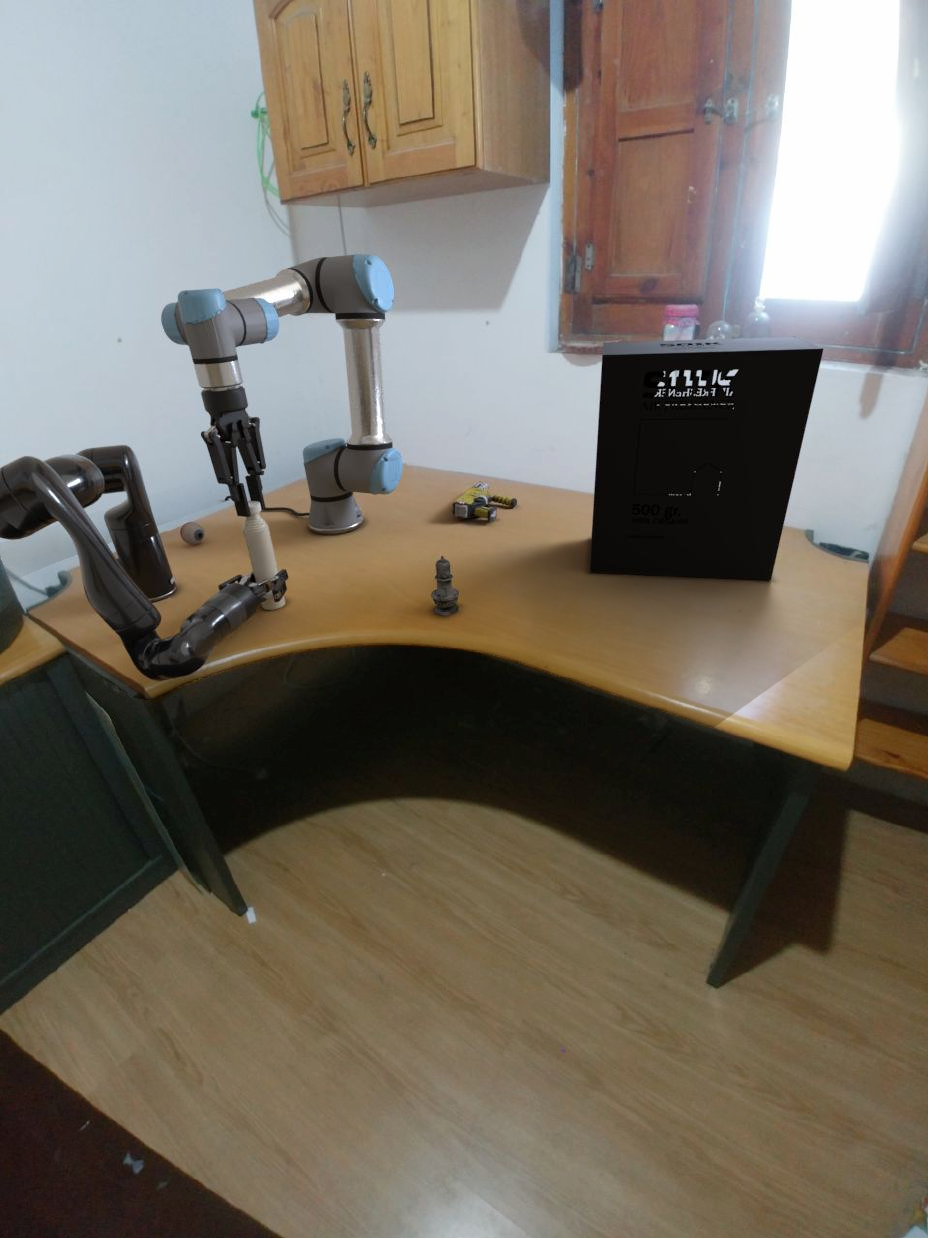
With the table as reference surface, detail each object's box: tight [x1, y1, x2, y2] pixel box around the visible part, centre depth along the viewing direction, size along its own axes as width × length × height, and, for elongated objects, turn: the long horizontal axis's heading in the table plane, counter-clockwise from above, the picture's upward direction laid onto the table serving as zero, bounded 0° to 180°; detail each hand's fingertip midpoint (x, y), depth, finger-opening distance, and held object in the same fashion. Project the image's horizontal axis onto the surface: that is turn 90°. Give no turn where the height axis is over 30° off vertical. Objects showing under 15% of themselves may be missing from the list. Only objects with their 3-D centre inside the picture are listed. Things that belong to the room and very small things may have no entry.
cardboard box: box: [589, 336, 824, 581], centre depth 128 cm, size 38×20×45 cm, turn 78°
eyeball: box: [179, 521, 206, 546], centre depth 161 cm, size 6×6×6 cm
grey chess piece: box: [430, 555, 461, 616], centre depth 121 cm, size 6×6×12 cm
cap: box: [248, 500, 263, 514], centre depth 119 cm, size 4×4×2 cm
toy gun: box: [451, 480, 518, 523], centre depth 174 cm, size 5×24×15 cm
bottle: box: [242, 512, 287, 611], centre depth 124 cm, size 5×5×22 cm
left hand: (273, 572), depth 129 cm, fingers closed on bottle, 5 cm apart
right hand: (251, 511), depth 119 cm, fingers closed on cap, 4 cm apart
